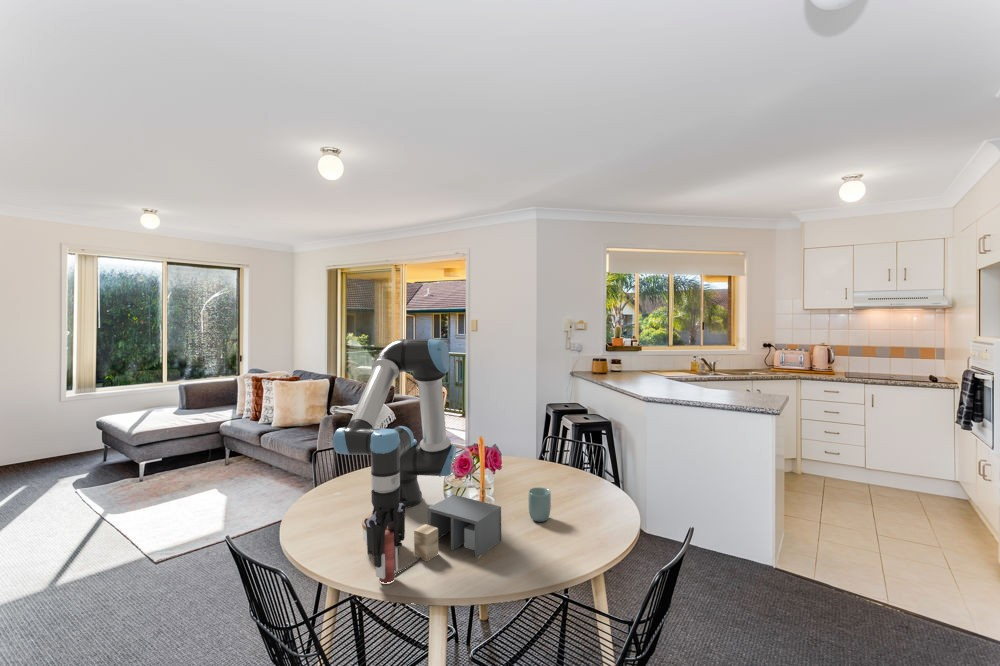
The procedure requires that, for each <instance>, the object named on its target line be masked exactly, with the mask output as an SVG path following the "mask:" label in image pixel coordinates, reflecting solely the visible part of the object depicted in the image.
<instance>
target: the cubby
mask: <svg viewBox="0 0 1000 666" xmlns="http://www.w3.org/2000/svg"><path fill="white" fill-rule="evenodd" d="M427 513H428V514H427V515H428V517H427V519H428V521H427V522H428V524H427V525H430V526H433V527H436V528H438V539H439V537H440V538H441V537H443V536H445V535H446V534H447V533H449V532H450V550H451V551H455V550H456V549H458V548H459V547H461V546H462V545H463V544H464V528H465V527H467V526H468V525H470V524H475V550H474V558H476V559H479V558H480V557H482V556H483V555H484V554H485V553H488V552H489V551H490V550H491V549H492V548H494V547H495V546H496V545H497V544H499V543H500V542H501V541H502V506H501V505H496V504H491V503H488V502H484V501H480V500H476V499H471V498H468V497H464V496H460V495H456V494H451V495H449V496H448V497H447V498H444V499H442V500H440V501H438V502H437V503H435V504H433V505H431V506H429V507H428V508H427Z"/></svg>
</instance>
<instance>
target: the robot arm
mask: <svg viewBox="0 0 1000 666" xmlns="http://www.w3.org/2000/svg"><path fill="white" fill-rule="evenodd" d="M450 366H451V364H450V352H449V348H448V346H447V343H446V342H445V341H444V340H442V339H434V338H422V339H419V338H417V339H416V338H415V339H414V338H413V339H411V338H409V339H408V338H407V339H406V338H402V339H397V340H395V341H392V342H390V343H389V344H388V345H386V346H385V347H384V348H383V349H381V351H380V352H379V353H378V354H377V355H376V357H375V358H374V359H373V362H372V365H371V374H370V377H369V378H368V380H367V383H366V385H365V388H364V389H363V391H362V394H361V397H360V398H359V400H358V402H357V405H356V407H355V410H354V412H353V414H352V417H351V419H350V421H349V423H348V425H347V426H344V427H339V428H337V429H336V430H335V432H334V434H333V437H332V438H333V439H332V446H333V450H334V452H335V453H337V454H339V455H347V456H348V455H349V456H351V455H355V456H356V455H357V456H358V455H361V456H363V455H364V456H367V455H369V456H370V469H371V471H370V475H371V476H370V477H371V478H370V482H371V483H370V486H371V487H370V488H371V492H370V494H371V504H372V506H373V508H372V509H373V510H372V513H371V514H372V516H371V517H370V518H369V519H367V518H366V519H365V520H364V523H365V525H366V530H367V545H366V548H367V555H370V556H373V563H374V564H373V565H374V567H375V576H376V578H379V579H380V578H381V579H384V578H385V554H383V546H384V538H385V530H386V528H387V525H388V530H390V531H393V532H394V566H395V572H397V571H399V564H398V563H399V559H398V558H399V556H400V555H399V554H400V547H402V544H403V541H405V534H406V533H405V532H406V530H405V528H406V525H405V524H406V510H407V508H412V507H415V506H417V505H419V504H420V503H422V500H423V493H422V491H421V488H420V484H419V482H418V476H428V477H429V476H431V477H439V478H440V477H449V476H451V474H452V473H453V471H452V469H451V465H452V462H453V460H454V458H455V457H457V446H456V445H455V444H452V440H451V438H450V437H449V436H447V431H446V430H447V429H446V428H447V427H446V415H445V406H444V405H445V404H444V392H443V391H444V390H443V379H444V378H445V377H446V374H447V373H448V372H449V370H450ZM400 373H412V379H413V380H414V381H415V382H417V387H418V388H417V389H418V399H419V408H420V418H421V428H422V439H421V440H420V442H419V443H418V441H417V439H415V436H414V434H413V431H412V430H411V429H410V428H409V427H407V426H403V425H399V426H396V427H393V428H375V427H376V424H377V422H378V420H379V417H380V414H381V412H382V410H383V407H384V404H385V402H386V400H387V397H388V395H389V392H390V390H391V387H392V385H393V382H394V381H395V379H397V378H398V377H399V375H400ZM455 459H456V458H455ZM399 534H400V535H399Z"/></svg>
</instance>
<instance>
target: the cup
mask: <svg viewBox="0 0 1000 666" xmlns="http://www.w3.org/2000/svg"><path fill="white" fill-rule="evenodd" d="M551 502H552V493H551V490H550V489H548V488H546V487H532V488H530V489H529V490H528V513H529V517H530V518H531V519H532V521H534V522H538V523H541V522H542V523H543V522H546V521H547V520H548V519H549V517H550V514H551V507H552V503H551Z"/></svg>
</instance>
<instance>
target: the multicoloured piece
mask: <svg viewBox="0 0 1000 666" xmlns="http://www.w3.org/2000/svg"><path fill="white" fill-rule="evenodd" d="M413 532H414V533H413V534H414V535H413V536H414V537H413V539H414V541H413V542H414V543H413V544H414V546H413V547H414V548H413V549H414V550H413V551H414V556H415V557H414V558H416V557H418V558H416V559H415V560H414V561H412V562H410V563H408V564H407V565H405V566H404V567H402V568H401V569H398V570H397V571H395V566H394V532H393V531H390V530H386V531H385V538H384V546H383V554H385V578H384V579H381V578H379V582H380V581H381V582H384V583H387V582H391V581H393V580H394V578H396V575H395V574H397V573H398V572H400V571H402V570H403V571H405V570H406V569H408V568H410V567H411V566H413V565H414V564H416V563H417V562H419V561H420V560H422V559H423V561H425V560H426V561H425V562H429V561H430V560H431V558H432V559H433V558H435V557H436V556H438V555H439V538H438V528H436V527H433V526H430V525H428V524H426V523H425V524H423V525H421V526H419V527H417V528H416V529H413ZM437 554H438V555H437ZM434 556H435V557H434ZM429 559H430V560H429ZM428 560H429V561H428ZM412 564H413V565H412ZM407 567H408V568H407ZM405 568H406V569H405ZM404 569H405V570H404ZM403 571H402V572H403ZM400 573H401V572H400ZM398 574H399V573H398ZM398 574H397V575H398Z"/></svg>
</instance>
